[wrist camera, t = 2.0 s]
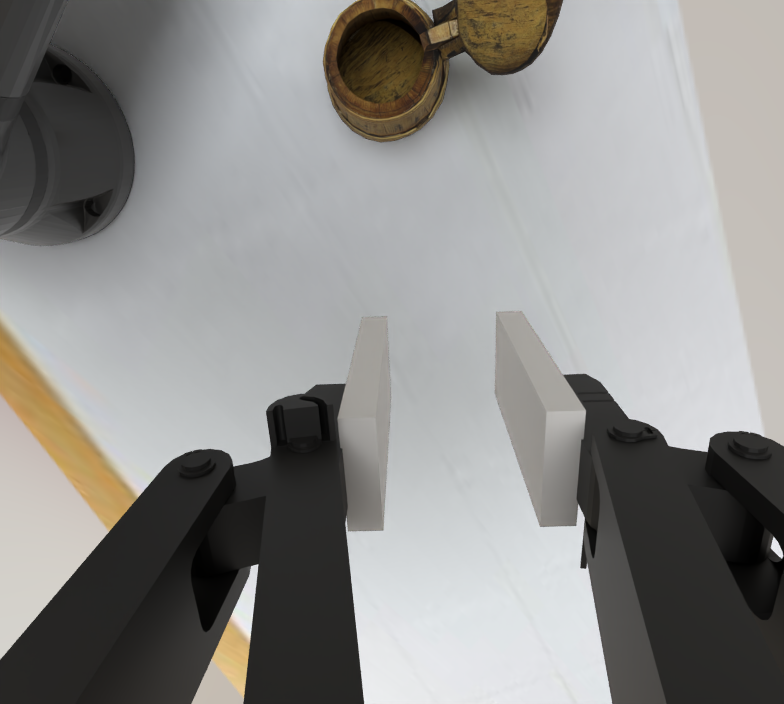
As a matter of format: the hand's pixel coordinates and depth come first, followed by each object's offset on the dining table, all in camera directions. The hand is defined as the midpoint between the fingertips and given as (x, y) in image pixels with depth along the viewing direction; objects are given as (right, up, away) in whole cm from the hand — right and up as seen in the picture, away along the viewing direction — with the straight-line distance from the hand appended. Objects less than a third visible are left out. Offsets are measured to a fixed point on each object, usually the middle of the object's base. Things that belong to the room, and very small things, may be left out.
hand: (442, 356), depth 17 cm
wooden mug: (0, +21, +25) cm, 33 cm away
